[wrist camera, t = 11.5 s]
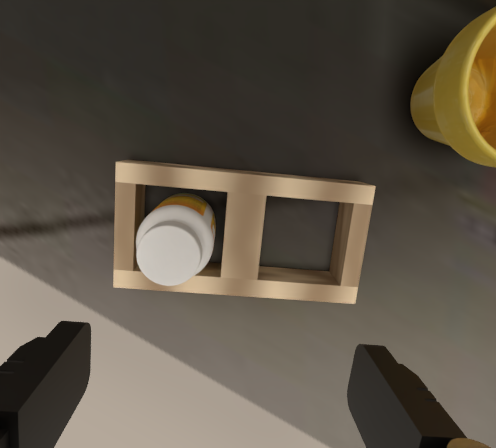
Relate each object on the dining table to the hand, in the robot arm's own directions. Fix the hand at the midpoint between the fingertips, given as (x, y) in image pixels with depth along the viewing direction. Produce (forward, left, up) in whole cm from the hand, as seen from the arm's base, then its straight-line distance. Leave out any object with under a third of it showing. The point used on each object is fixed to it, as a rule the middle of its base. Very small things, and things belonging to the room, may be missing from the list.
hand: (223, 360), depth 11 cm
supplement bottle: (+1, -4, -22) cm, 22 cm away
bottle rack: (+1, +1, -22) cm, 22 cm away
